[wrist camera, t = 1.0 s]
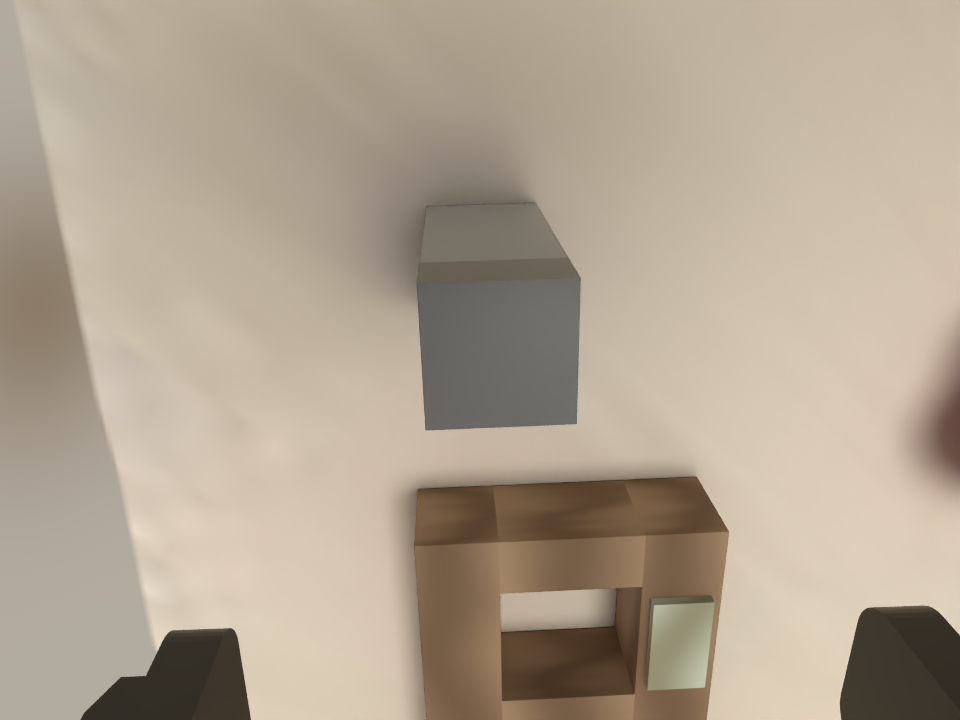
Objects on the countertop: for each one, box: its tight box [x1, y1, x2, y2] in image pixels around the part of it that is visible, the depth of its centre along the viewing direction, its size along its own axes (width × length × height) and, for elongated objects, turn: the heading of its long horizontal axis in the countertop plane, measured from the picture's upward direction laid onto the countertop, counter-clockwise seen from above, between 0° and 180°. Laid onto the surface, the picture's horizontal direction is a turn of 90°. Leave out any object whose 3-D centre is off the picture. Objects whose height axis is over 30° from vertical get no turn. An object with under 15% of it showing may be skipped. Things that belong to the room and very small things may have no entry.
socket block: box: [414, 477, 729, 720], centre depth 34 cm, size 12×20×4 cm, turn 2°
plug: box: [417, 203, 581, 430], centre depth 24 cm, size 4×4×10 cm
